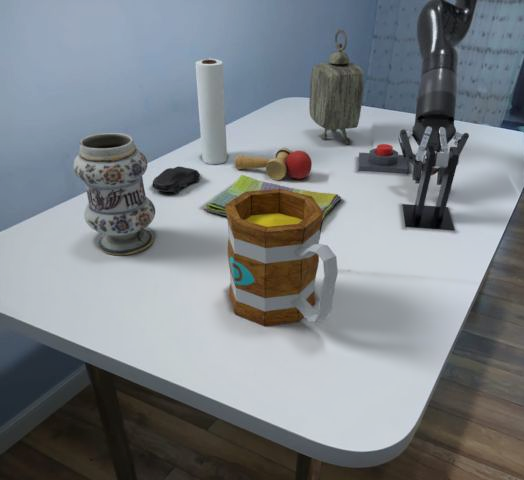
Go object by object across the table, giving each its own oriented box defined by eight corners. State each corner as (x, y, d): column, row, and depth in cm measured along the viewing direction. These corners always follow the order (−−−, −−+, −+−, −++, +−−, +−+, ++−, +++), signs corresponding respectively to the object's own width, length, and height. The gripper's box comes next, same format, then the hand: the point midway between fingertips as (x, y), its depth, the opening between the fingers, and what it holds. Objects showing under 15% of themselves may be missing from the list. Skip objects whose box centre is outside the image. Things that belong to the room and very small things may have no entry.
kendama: (231, 181, 114) (305, 182, 108) (229, 152, 111) (305, 151, 105) (245, 175, 121) (316, 175, 114) (243, 147, 118) (315, 146, 111)
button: (391, 152, 116) (392, 144, 114) (391, 157, 113) (393, 149, 112) (375, 151, 116) (376, 143, 115) (376, 156, 113) (377, 148, 112)
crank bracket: (401, 209, 101) (415, 139, 92) (446, 212, 100) (465, 142, 91) (404, 232, 93) (419, 158, 84) (453, 236, 92) (474, 161, 83)
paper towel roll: (217, 166, 118) (212, 65, 104) (197, 161, 120) (189, 62, 106) (234, 157, 123) (231, 59, 108) (214, 152, 125) (209, 56, 111)
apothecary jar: (157, 223, 96) (143, 126, 84) (161, 254, 87) (145, 150, 75) (93, 229, 94) (69, 130, 82) (90, 262, 85) (62, 156, 73)
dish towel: (243, 182, 111) (242, 170, 109) (346, 204, 102) (347, 191, 101) (201, 213, 99) (200, 200, 97) (313, 240, 91) (314, 227, 89)
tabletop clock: (356, 146, 129) (370, 34, 112) (323, 149, 127) (332, 35, 111) (336, 129, 139) (346, 24, 123) (306, 132, 138) (312, 25, 121)
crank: (418, 176, 101) (420, 157, 100) (436, 177, 100) (439, 158, 99) (430, 169, 88) (433, 148, 87) (451, 170, 88) (454, 149, 87)
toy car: (203, 179, 112) (202, 162, 110) (169, 198, 104) (167, 180, 102) (183, 174, 114) (181, 157, 112) (148, 192, 107) (146, 175, 104)
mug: (211, 293, 78) (204, 203, 68) (280, 267, 84) (283, 180, 74) (287, 362, 66) (292, 264, 56) (361, 326, 72) (377, 232, 62)
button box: (403, 164, 120) (407, 147, 117) (406, 178, 113) (409, 161, 110) (358, 161, 121) (360, 144, 118) (357, 175, 114) (359, 158, 111)
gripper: (403, 87, 96) (395, 172, 95) (478, 90, 95) (471, 176, 94) (397, 109, 104) (389, 188, 103) (466, 112, 102) (460, 192, 101)
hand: (428, 182), depth 98 cm, fingers closed on crank, 3 cm apart
